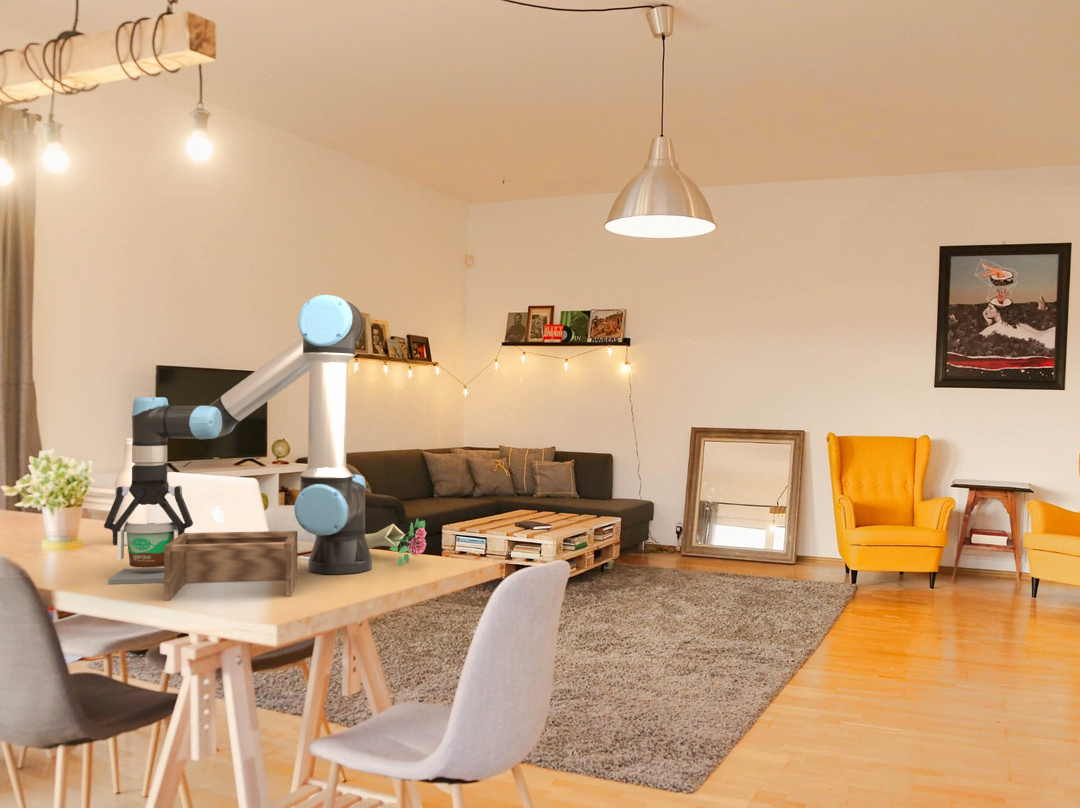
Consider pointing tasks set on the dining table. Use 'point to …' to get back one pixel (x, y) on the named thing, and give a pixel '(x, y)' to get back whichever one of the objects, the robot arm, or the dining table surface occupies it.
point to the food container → (148, 543)
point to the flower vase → (399, 540)
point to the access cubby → (230, 558)
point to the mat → (138, 576)
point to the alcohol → (125, 479)
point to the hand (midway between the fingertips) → (148, 558)
